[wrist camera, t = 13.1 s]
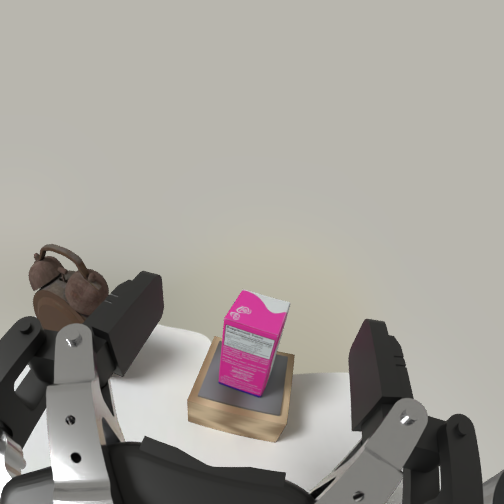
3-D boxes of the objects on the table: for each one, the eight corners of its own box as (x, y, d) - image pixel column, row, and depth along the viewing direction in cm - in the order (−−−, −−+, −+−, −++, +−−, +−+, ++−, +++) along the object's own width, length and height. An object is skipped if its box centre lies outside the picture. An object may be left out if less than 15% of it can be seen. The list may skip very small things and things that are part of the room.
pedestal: (284, 378, 41) (295, 353, 38) (275, 442, 30) (287, 422, 28) (212, 361, 42) (214, 334, 39) (188, 421, 32) (187, 398, 29)
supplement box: (232, 353, 36) (243, 286, 31) (272, 367, 35) (294, 302, 30) (215, 383, 31) (223, 316, 26) (260, 399, 30) (282, 336, 25)
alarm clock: (135, 357, 39) (120, 246, 30) (114, 390, 33) (82, 277, 24) (70, 327, 41) (46, 225, 32) (47, 352, 34) (11, 246, 25)
